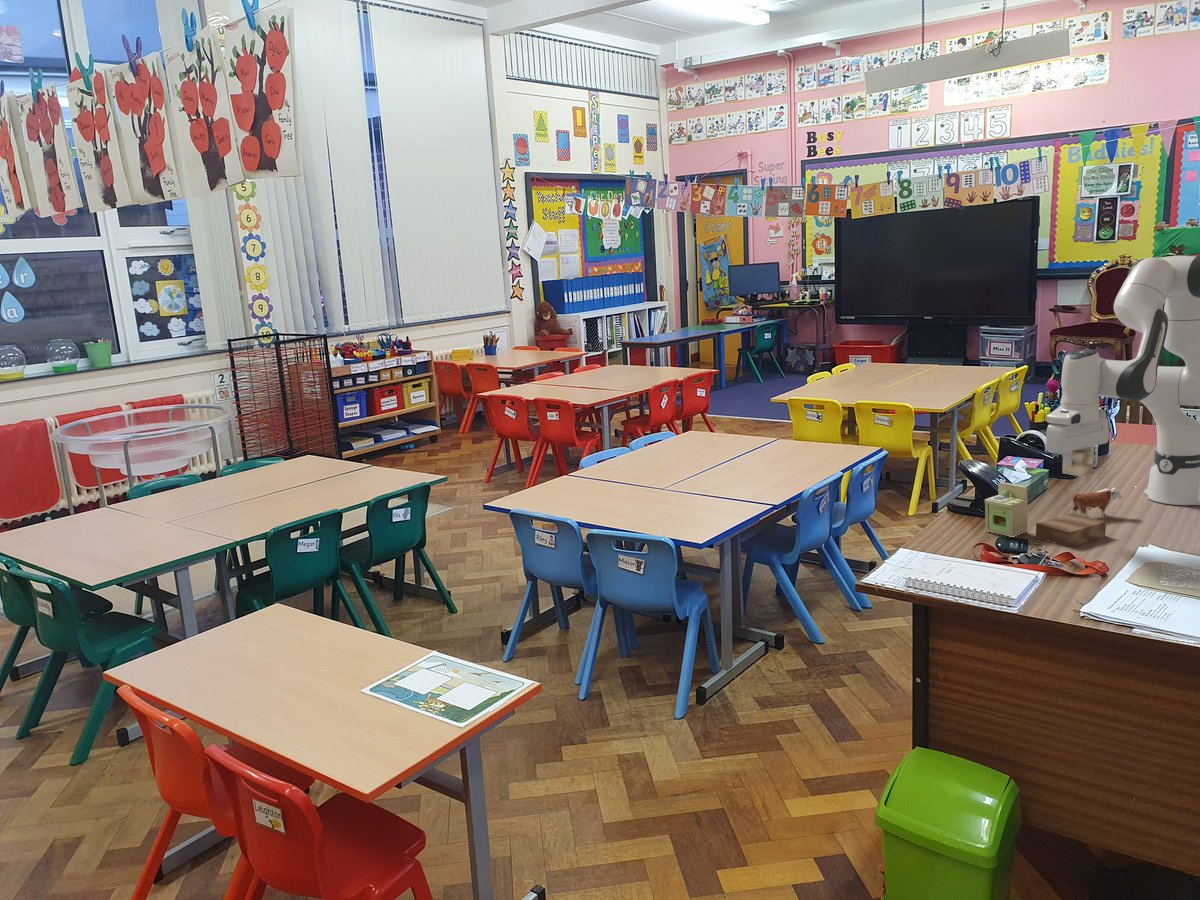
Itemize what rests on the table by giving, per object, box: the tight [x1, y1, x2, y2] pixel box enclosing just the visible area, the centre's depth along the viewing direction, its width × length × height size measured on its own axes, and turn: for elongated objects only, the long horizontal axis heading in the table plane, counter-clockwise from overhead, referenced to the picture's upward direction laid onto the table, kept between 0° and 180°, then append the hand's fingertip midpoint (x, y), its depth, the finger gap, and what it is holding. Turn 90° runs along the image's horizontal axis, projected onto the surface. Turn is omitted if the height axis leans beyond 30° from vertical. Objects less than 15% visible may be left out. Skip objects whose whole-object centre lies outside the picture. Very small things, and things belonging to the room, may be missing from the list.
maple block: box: [1061, 449, 1094, 477], centre depth 233 cm, size 5×5×6 cm
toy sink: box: [984, 481, 1028, 536], centre depth 244 cm, size 8×7×13 cm
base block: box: [1035, 513, 1107, 548], centre depth 237 cm, size 14×10×4 cm
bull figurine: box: [1072, 487, 1124, 518], centre depth 251 cm, size 4×13×8 cm, turn 89°
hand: (1077, 465), depth 233 cm, fingers closed on maple block, 5 cm apart
